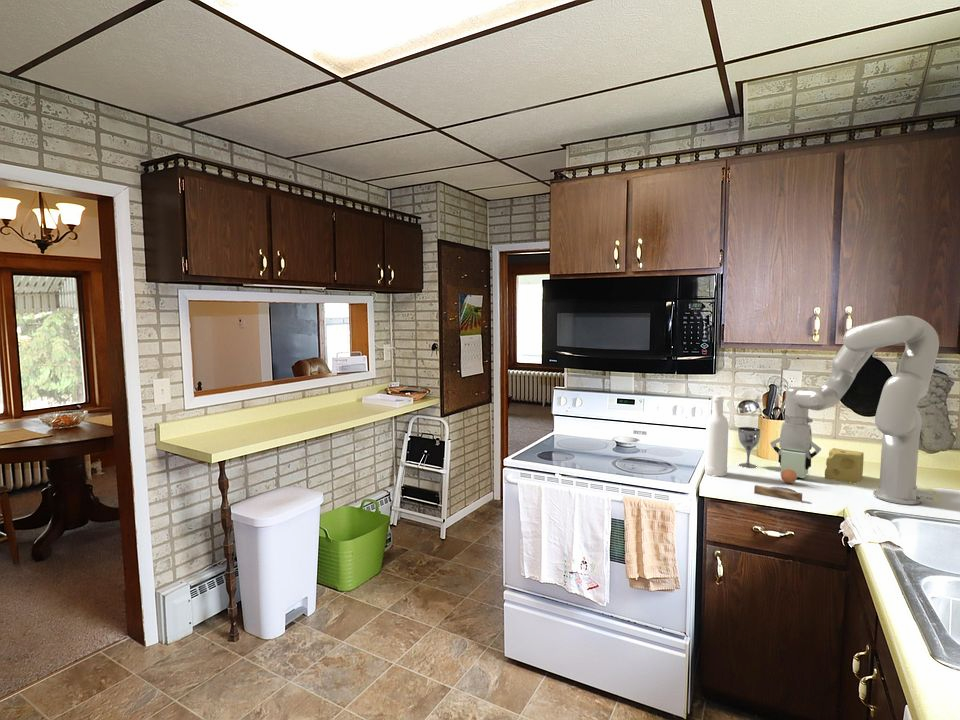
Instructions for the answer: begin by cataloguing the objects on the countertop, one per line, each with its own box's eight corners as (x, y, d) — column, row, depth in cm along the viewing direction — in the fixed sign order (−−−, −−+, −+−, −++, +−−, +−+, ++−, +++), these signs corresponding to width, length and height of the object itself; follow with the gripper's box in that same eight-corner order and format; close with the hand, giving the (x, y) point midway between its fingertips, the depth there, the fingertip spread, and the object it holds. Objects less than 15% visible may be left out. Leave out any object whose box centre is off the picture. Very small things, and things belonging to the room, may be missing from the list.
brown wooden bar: (802, 500, 180) (802, 493, 180) (801, 502, 179) (801, 494, 178) (755, 492, 189) (755, 485, 188) (754, 493, 187) (754, 486, 187)
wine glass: (756, 469, 215) (758, 432, 214) (735, 466, 220) (736, 429, 219) (760, 465, 221) (762, 428, 220) (739, 462, 226) (740, 426, 225)
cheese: (824, 478, 204) (825, 452, 203) (831, 472, 211) (832, 446, 210) (857, 484, 196) (859, 457, 195) (864, 478, 204) (865, 451, 203)
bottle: (704, 469, 215) (706, 394, 213) (726, 471, 213) (728, 394, 210) (704, 475, 208) (707, 397, 205) (727, 477, 205) (730, 398, 203)
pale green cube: (808, 473, 206) (808, 450, 206) (804, 478, 201) (804, 454, 200) (784, 469, 211) (785, 447, 211) (780, 474, 205) (781, 451, 205)
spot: (799, 490, 190) (799, 490, 190) (794, 497, 183) (794, 497, 183) (770, 485, 195) (770, 485, 195) (764, 492, 188) (764, 491, 188)
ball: (797, 482, 199) (798, 469, 198) (795, 486, 195) (795, 472, 194) (782, 480, 202) (782, 466, 201) (779, 483, 198) (780, 469, 198)
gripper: (825, 421, 201) (823, 468, 203) (772, 416, 212) (770, 460, 214) (821, 424, 196) (819, 473, 197) (767, 419, 207) (766, 465, 208)
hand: (794, 466), depth 206 cm, fingers closed on pale green cube, 7 cm apart
